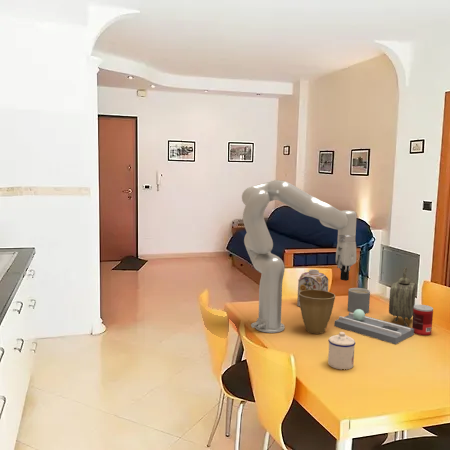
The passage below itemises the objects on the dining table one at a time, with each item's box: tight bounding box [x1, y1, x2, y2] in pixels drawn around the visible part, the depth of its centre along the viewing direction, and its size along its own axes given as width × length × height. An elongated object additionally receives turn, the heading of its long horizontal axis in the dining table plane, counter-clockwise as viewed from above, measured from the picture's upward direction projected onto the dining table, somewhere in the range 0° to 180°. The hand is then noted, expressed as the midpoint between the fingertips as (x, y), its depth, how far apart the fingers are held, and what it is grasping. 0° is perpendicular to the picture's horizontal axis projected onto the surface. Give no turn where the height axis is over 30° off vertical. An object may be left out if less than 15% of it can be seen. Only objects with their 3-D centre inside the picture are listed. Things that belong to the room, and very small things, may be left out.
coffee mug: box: [347, 287, 371, 315], centre depth 230 cm, size 13×10×10 cm
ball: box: [353, 309, 366, 321], centre depth 206 cm, size 5×5×5 cm
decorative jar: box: [296, 268, 329, 307], centre depth 235 cm, size 12×12×18 cm
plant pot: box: [299, 290, 336, 335], centre depth 199 cm, size 15×15×16 cm
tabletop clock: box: [388, 266, 417, 327], centre depth 211 cm, size 14×9×25 cm, turn 152°
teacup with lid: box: [327, 331, 356, 371], centre depth 167 cm, size 12×9×12 cm
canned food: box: [411, 304, 434, 337], centre depth 199 cm, size 8×8×11 cm
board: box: [333, 312, 415, 345], centre depth 201 cm, size 28×16×4 cm, turn 44°
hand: (344, 279), depth 210 cm, fingers closed
